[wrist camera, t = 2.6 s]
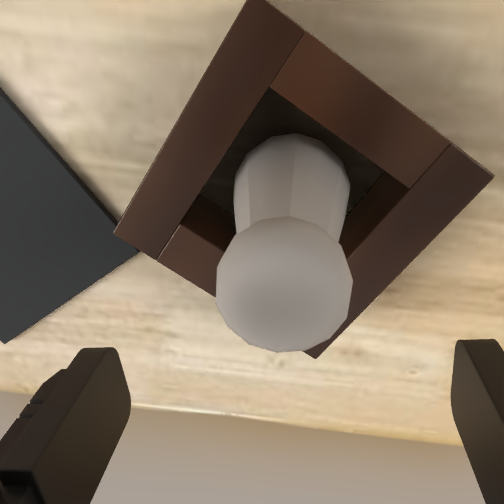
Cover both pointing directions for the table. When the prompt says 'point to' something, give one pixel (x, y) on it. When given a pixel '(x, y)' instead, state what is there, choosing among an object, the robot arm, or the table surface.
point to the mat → (46, 227)
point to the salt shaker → (287, 246)
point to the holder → (332, 118)
